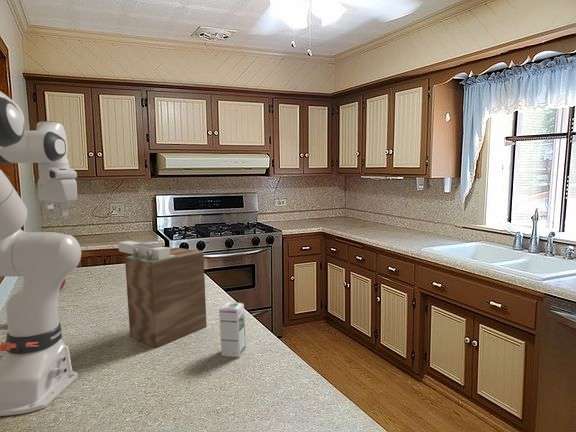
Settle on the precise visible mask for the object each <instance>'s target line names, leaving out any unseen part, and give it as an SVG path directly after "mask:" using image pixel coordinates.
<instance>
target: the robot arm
mask: <svg viewBox="0 0 576 432" xmlns="http://www.w3.org/2000/svg"><path fill="white" fill-rule="evenodd" d="M24 126H25V115H24V113H23V111H22V108H21V107H20V106H19V105H18V104H17V103H16V101H14V100H13V99H11V98H10V97H9V96H8V95H6V94H5V93H3V92H2V91H1V90H0V163H1V164H3V165H11V164H12V165H13V164H35V163H36V164H37V166H38V167H37V168H38V176H39V178H38V180H37V198H38V200H39V201H43V202H44V205H45V207H46V209H47V214H48V215H55V214H56V208H55V207H54V202H57V203H60V205H61V210H60V215H61V216H62V217H68V216H69V214H70V212H69V210H70V207H71V203H75V202H76V201H77V198H78V185H77V180H76V179H77V178H78V173H77V171H75V170H74V169H73V168H72V167H70V161H69V160H68V153H69V149H68V139H67V133H66V131H65V127H64V125H63V124H62V123H60V122H57V121H53V120H52V121H51V120H43V121H39V122H37V123H36V129H35V130H25V127H24ZM27 219H28V208H27V206H26V205H25V203H24V201H23V200H22V198H21V197H20V195H19V193H18V192H17V190H16V189H15V188H14V186H13V184H12V183H11V181H10V179H9V178H8V176H6V174H5V173H4V172H3V170H1V168H0V277H23V278H24V279H23V280H24V281H23V282H24V283H23V288H22V289H21V290H19V291H17V292H15V293H14V294H13V295H11V297H10V298H9V299H8V301H7V302H6V305H5V312H6V322H7V331H8V332H7V333H6V338H5V342H1V343H0V352H5V354H4V356H3V358H2V360H1V362H0V417H1V416H3V417H5V416H15V415H22V414H27V413H32V412H36V411H39V410H42V409H44V408H46V407H48V405H50V404H51V402H53V401H54V400H55V399H56V398H57V397H58V396H59V395H60V394H62V393H63V392H64V391H65V389H67V388H68V387H69V386H70V385H71V384H72V383H73V382H75V380H77V379H78V378H79V373H78V372H77V371H75V370H73V368H72V361H71V355H70V348H69V347H68V346H67V345H66V344H65V343H64V341H63V339H62V338H63V329H62V326H61V325H62V324H61V323H60V322H59V306H58V305H59V304H58V303H59V300H58V298H59V293H60V286H61V284H62V282H63V280H64V279H65V280H66V278H67V277H68V275H70V274H71V273H72V272H73V271H75V269H77V267H78V266H79V263H80V262H81V259H82V248H81V245H80V243H79V241H78V240H77V238H75V237H74V236H73V235H71V234H70V235H69V234H67V233H62V232H61V233H60V232H55V231H33V232H32V231H25V230H24V229H23V230H22V228H23V226H24V225H25V224H26V221H27Z"/></svg>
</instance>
